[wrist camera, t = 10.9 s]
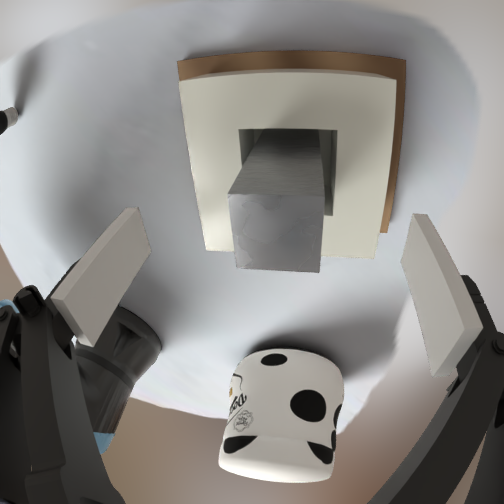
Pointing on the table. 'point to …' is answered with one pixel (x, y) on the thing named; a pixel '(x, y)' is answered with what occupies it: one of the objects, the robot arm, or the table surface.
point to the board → (317, 61)
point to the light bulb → (8, 118)
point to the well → (295, 117)
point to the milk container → (283, 416)
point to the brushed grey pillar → (279, 203)
